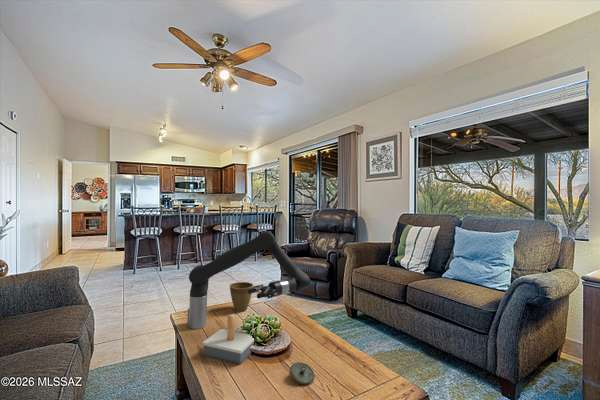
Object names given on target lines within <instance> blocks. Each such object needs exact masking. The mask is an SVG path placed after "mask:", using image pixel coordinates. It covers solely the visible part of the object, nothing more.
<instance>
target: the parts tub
mask: <svg viewBox="0 0 600 400" xmlns="http://www.w3.org/2000/svg"><path fill="white" fill-rule="evenodd" d="M253 344H254V342H253V343H252V344H251V345H253ZM251 345H250V346H249V347H248V348H247V349H245V350H244V351H243V352H242V353H241V354H240V353H235V352H231V351H227V350H222V349H218V348H214V347H209V346H205V345H203V356H204V357H208V358H212V359H216V360H220V361H224V362H227V363H232V364H237V365H241V364H243V363H244V362H245V361H246V359H248V357H249V356H251V354H252V353H251V351H250V347H251Z"/></svg>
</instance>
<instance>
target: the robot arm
mask: <svg viewBox="0 0 600 400" xmlns="http://www.w3.org/2000/svg"><path fill="white" fill-rule="evenodd" d="M265 249H266V250H268V252H269V253H270V254H272V256H273V257H274V258H275V260H276V261H277V263H278V265H279V266H280V268H281V269H282V270H283V271H284V273H285V274H286V275H287V276H288V277H289V278H287V279H278V280H274V281H270V282H269V283H268V285H264V284H258V285H253V288H252V289H248V294H251V293H252V294H255V293H256V298H257V299H258V300H259V299H263V298H265V299H266V298H267V299H272V298H275V297H278V296H282V295H286V294H288V293H292V292H299V291H303V290H304V289H306V288H308V287H309V286H310V285H311V278H310V276H308V274H307V273H305V272H304V271H303V270H302V269H300V268H299V267H298V266H297V265H296V264H295V263H294V261H293V260H292V259H291V258H290V257H289V256H288V255H287V253H286V252H285V251H284V250H283V249H282V248H281V246H280V244H279V243H278V241H277V240H276V238H275V236H274V233H272V232H270V231H263V232H262V233H260V234H259V235H257V236H256V237H254V238H252V239H251V240H249V241H248V242H245V243H242V244H239V245H237V246H235V247H232V248H231V249H228V250H226V251H225V252H223V253H221V254H219V255H218V256H216V258H214V259H213V260H212V261H210V262H208V263H205V264H204V265H203V264H198V265H196V266H195V267H194V268H192V269H191V270H190V272H189V275H188V279H189V280H188V281H189V282H190V283H191V285H190V290H189V306H188V307H189V308H188V309H187V321H186V326H187V327H188V328H190V329H192V330H198V329H203V328H205V327H206V326H207V313H208V312H207V311H208V307H207V306H208V289H209V279H211V278H213V276H216V275H217V274H220V273H222V272H224V271H227V270H228V269H230V268H233V267H234V266H235V267H236V266H237V265H238V264H240V263H242V262H244V261H245V260H247V259H248V258H251V256H252V255H254V254H257V253H258V252H260V251H263V250H265ZM252 294H251V295H252Z"/></svg>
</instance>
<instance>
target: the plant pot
mask: <svg viewBox="0 0 600 400" xmlns="http://www.w3.org/2000/svg"><path fill="white" fill-rule="evenodd" d="M253 286H254V284H253V283H252V282H247V281H245V282H244V281H239V282H233V283H231V284H230V285H229V291H230V297H231V301H232V306H233V308H234V311H236V312H239V313H240V312H242V313H243V312H246V311H247V310H248V308H249V304H250V301H251V298H252V294H253V293H251V294H248V289H252V288H253Z"/></svg>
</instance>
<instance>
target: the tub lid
mask: <svg viewBox="0 0 600 400" xmlns="http://www.w3.org/2000/svg"><path fill="white" fill-rule="evenodd" d="M235 316H236V315H235V314H234V313H232V314H231V313H229V314H228V315H227V328H225V329H224V328H221V329H219V330H218V331H216V332H215V333H214V334H211V336H210V337H208V338H207V339H205V340H204V341H202V346H204V345H205V346H209V347H214V348H218V349H222V350H227V351H231V352H235V353H240V354H241V353H242V352H243V351H244V350H245V349H247V348H248V347H249V346H250V345H251V344H252V343H253V342H254V338H252V337H251V336H250V335H251V334H250V333H249V334H248V333H243V332H239V331H235V323H236V317H235Z"/></svg>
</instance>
